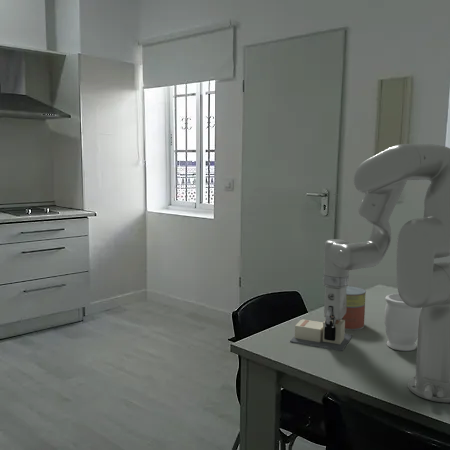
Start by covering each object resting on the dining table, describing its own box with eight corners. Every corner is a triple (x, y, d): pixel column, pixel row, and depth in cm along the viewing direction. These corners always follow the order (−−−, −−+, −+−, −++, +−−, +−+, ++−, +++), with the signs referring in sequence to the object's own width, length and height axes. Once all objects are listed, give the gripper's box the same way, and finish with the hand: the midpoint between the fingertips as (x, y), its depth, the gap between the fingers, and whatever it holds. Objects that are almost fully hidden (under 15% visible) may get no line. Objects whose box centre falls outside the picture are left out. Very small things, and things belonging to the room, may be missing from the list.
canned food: (367, 322, 172) (369, 288, 170) (360, 331, 162) (361, 296, 160) (335, 317, 177) (336, 284, 175) (326, 326, 167) (327, 291, 165)
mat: (342, 351, 145) (342, 349, 145) (290, 342, 152) (290, 340, 152) (352, 336, 158) (352, 334, 158) (303, 328, 165) (303, 327, 165)
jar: (396, 354, 143) (398, 304, 141) (376, 341, 153) (378, 294, 151) (427, 350, 146) (430, 301, 144) (406, 338, 156) (408, 292, 154)
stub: (340, 344, 149) (341, 324, 148) (322, 341, 151) (323, 322, 151) (344, 338, 154) (345, 319, 153) (327, 335, 156) (327, 317, 156)
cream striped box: (320, 342, 151) (321, 329, 150) (294, 338, 155) (295, 325, 154) (326, 335, 157) (327, 322, 157) (301, 331, 161) (301, 318, 160)
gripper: (341, 288, 141) (339, 346, 143) (354, 275, 156) (351, 328, 159) (315, 285, 144) (313, 341, 146) (330, 273, 160) (328, 324, 162)
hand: (333, 334), depth 153 cm, fingers open, 9 cm apart
